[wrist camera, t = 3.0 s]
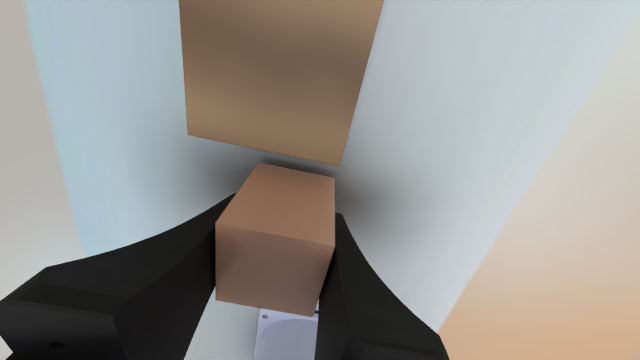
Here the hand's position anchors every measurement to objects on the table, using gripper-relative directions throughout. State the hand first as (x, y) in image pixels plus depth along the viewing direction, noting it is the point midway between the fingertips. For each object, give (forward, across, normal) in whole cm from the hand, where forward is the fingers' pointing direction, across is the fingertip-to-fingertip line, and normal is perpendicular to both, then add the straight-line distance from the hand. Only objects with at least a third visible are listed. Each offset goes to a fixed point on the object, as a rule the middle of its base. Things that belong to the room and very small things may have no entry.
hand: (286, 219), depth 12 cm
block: (+2, 0, 0) cm, 2 cm away
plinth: (+3, +2, -7) cm, 7 cm away
